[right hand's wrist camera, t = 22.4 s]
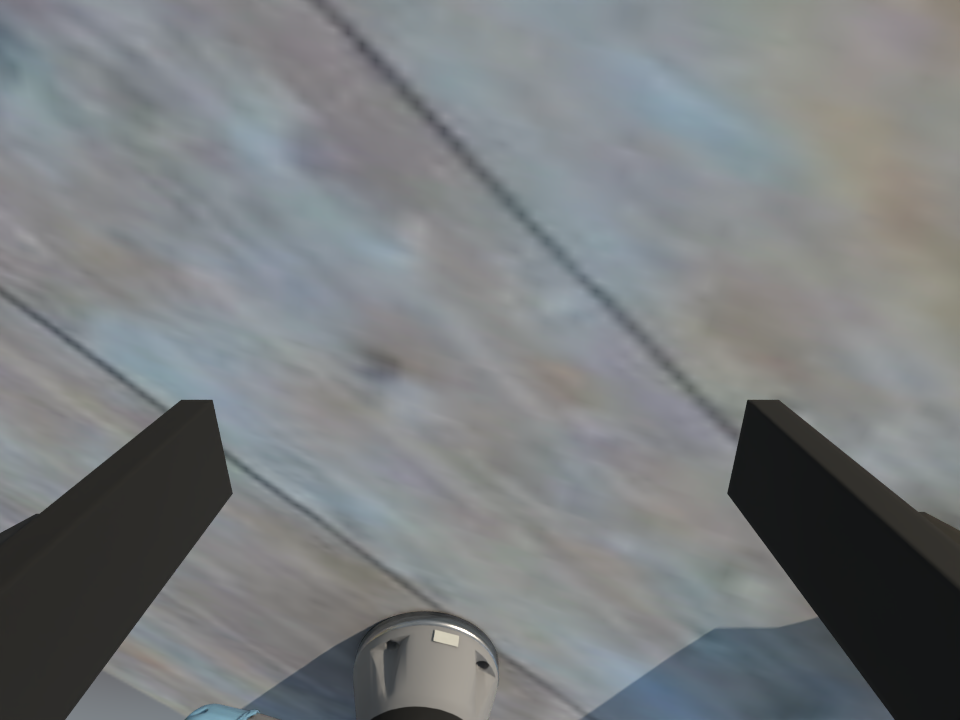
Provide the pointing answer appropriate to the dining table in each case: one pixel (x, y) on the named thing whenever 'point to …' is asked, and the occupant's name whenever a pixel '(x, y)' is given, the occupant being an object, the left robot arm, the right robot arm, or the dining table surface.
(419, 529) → the dining table surface
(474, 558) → the dining table surface
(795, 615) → the dining table surface
